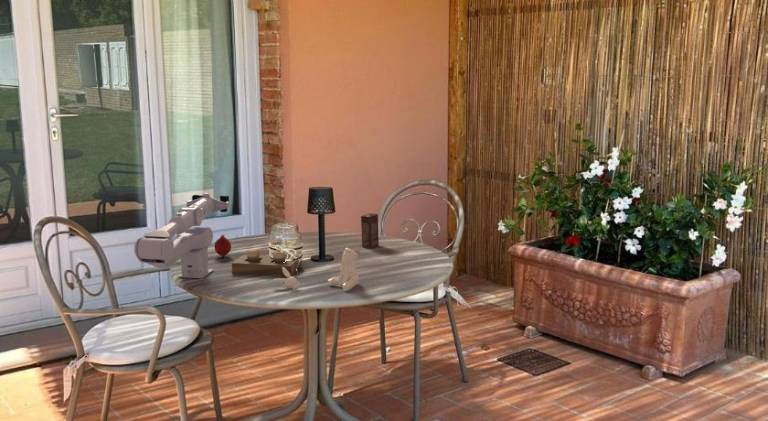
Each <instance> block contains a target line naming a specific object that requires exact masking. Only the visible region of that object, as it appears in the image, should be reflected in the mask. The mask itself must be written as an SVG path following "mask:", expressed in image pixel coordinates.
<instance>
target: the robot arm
mask: <svg viewBox="0 0 768 421" xmlns="http://www.w3.org/2000/svg"><path fill="white" fill-rule="evenodd" d="M229 208H231V205H230V196H229V195H219V199H216V198H215V197H211V195H210V193H207V192H204V193H203V194H202V195H200V194H193V195H192V196H191V200H190V199H189V200H187V201H186V207H179V208H178V210H177V212H176V213H175V215H174V216H172V217H171V218H170V219H169V221H168V224H165V225H163V226H161V227H160V228H158V229H156V230H152V231H149V232H146V233H145V234H143V235H142V237H141V236H140V237H138V239H136V241H135V243H134V247H133V251H134V255H135V257H136V258H137V260H138V262H140V263H144V264H148V265H151V266H154V267H156V268H161V269H169V268H170V267H171V266H172V265H175V263H177V262H178V261H179V260H180V266H181V267H180V268H181V274H179V275H178V277H179V278H191V279H203V278H204V277H206V276H208V275H209V274H211V273H212V272H213V271H214V269H213V268H209V252H208V248H209V247H210V246H211V245H212V242H213V241H214V240H213V239H214V234H213V230H212V229H211V227H208V226H206V227H200V226H201V225H202V223H203V220H204V219H205V218H206V217H208V216H209V215H211V214H214V213H216V212H220V213H226V212H227V211H228V209H229ZM198 226H199V227H198ZM174 236H176V239H175V240H173V237H174Z"/></svg>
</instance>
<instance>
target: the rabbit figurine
mask: <svg viewBox="0 0 768 421" xmlns="http://www.w3.org/2000/svg"><path fill="white" fill-rule="evenodd" d="M282 271H283V273H284V275H285V276H284V277H285V278H274V279H271V282H272V283H274V284H281V283H282V284H283V283H284V286H282V288H283V289H284V288H286V289H289V288H292V290H296V289H297V288H298V286H299V284H300V281H299V280H298V279H297V278H296V277H294V276H290V273H289V272H288V271H287V270H286V269H285V268H284V267H282Z"/></svg>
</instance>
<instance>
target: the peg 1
mask: <svg viewBox="0 0 768 421" xmlns="http://www.w3.org/2000/svg"><path fill="white" fill-rule="evenodd" d="M246 253H247V254H246V255H247V260H248V261H252V262H255V261H259V260H260V250H259V249H255V248H254V249H253V248H251V249H247V251H246Z"/></svg>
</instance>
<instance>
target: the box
mask: <svg viewBox="0 0 768 421" xmlns="http://www.w3.org/2000/svg"><path fill="white" fill-rule="evenodd" d="M360 219H361V220H360V222H361V224H360V225H361V247H362V248H364V249H365V248H366V249H372V248H374V247H377V246H379V245H380V244H379V243H380V242H379V238H380V237H379V214H378V213H366V214H364V215H361V216H360Z"/></svg>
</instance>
